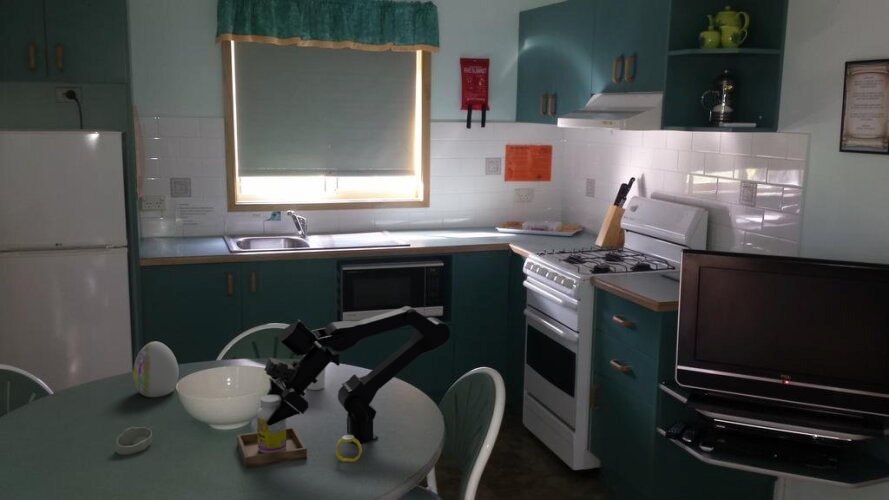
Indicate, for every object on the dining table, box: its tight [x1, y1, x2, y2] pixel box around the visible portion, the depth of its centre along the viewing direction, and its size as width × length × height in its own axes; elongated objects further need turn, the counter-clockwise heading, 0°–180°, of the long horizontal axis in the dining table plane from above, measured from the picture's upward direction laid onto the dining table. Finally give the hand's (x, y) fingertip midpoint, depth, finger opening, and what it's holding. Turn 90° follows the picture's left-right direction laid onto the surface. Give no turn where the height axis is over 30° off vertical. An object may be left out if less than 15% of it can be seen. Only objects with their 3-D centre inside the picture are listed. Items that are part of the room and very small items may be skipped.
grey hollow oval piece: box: [115, 426, 153, 456], centre depth 197 cm, size 9×6×5 cm
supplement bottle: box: [256, 394, 287, 454], centre depth 195 cm, size 7×7×13 cm
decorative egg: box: [132, 341, 180, 398], centre depth 235 cm, size 12×12×15 cm
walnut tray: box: [236, 426, 308, 469], centre depth 196 cm, size 14×14×2 cm
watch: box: [335, 434, 363, 463], centre depth 191 cm, size 6×3×6 cm, turn 88°
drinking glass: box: [302, 341, 326, 391], centre depth 239 cm, size 7×7×15 cm
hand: (264, 417), depth 194 cm, fingers open, 9 cm apart
